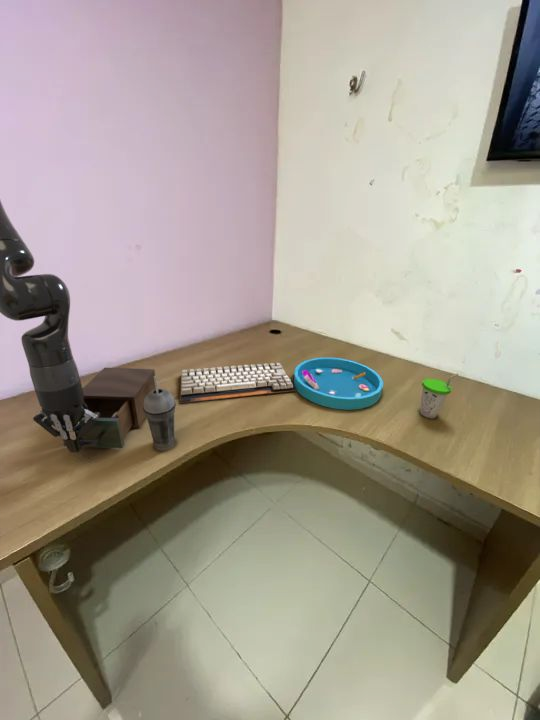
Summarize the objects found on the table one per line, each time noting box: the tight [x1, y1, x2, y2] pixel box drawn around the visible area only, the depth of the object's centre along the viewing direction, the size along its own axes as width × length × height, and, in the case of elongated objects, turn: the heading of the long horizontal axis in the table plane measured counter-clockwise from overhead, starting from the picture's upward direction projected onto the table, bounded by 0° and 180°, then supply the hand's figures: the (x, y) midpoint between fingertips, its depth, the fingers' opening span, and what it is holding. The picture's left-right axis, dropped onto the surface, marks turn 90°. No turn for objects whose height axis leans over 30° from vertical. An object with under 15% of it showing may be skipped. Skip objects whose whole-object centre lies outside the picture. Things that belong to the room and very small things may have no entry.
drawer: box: [61, 398, 135, 449], centre depth 77 cm, size 19×14×8 cm
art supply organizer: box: [293, 357, 384, 411], centre depth 107 cm, size 30×30×6 cm
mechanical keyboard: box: [179, 362, 296, 405], centre depth 106 cm, size 38×19×3 cm, turn 105°
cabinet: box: [82, 367, 156, 429], centre depth 88 cm, size 16×15×10 cm
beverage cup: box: [143, 375, 177, 452], centre depth 73 cm, size 7×7×20 cm
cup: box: [419, 373, 459, 419], centre depth 91 cm, size 8×8×15 cm
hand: (76, 449), depth 67 cm, fingers closed
